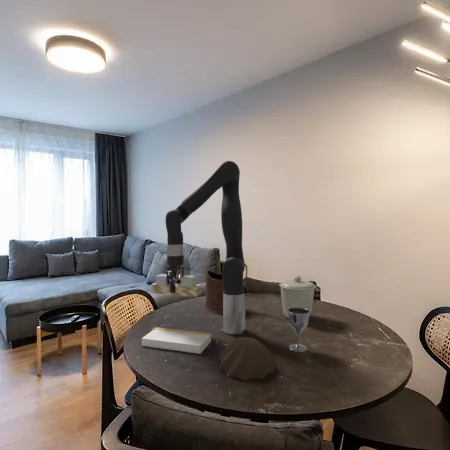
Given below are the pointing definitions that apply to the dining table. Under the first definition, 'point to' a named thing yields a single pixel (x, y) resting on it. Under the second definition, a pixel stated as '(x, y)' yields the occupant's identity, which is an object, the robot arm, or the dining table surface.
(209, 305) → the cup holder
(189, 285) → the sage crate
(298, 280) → the canister
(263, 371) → the decorative dome
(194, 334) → the dock
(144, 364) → the dining table surface
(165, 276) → the block
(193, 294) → the pallet
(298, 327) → the wine glass
